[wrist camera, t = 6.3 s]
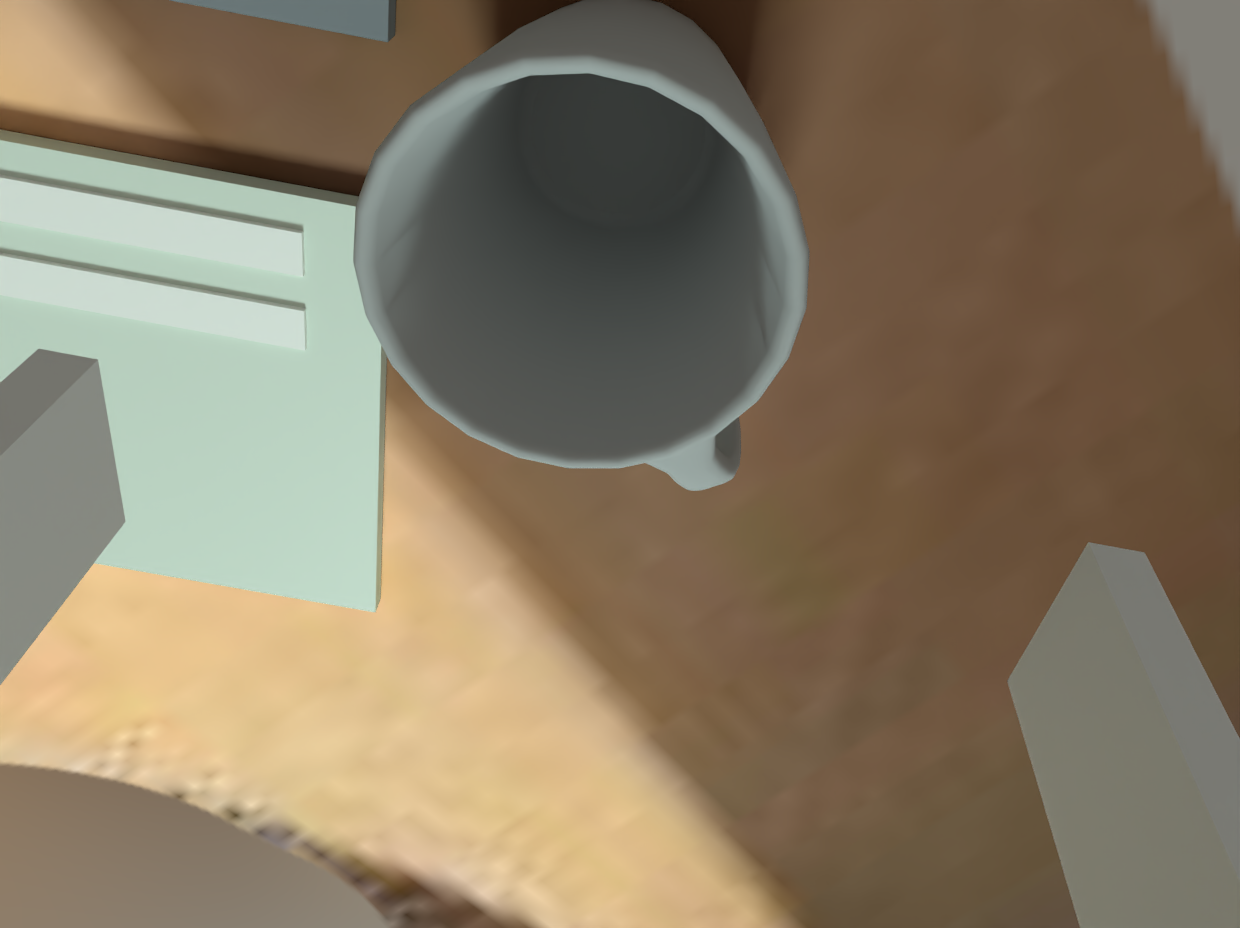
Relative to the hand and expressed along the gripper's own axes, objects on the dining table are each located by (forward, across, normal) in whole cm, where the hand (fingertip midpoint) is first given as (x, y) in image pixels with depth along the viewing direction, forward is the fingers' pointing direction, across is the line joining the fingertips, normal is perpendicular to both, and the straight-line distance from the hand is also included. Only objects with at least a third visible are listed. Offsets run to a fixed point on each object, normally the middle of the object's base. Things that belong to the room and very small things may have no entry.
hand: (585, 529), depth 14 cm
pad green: (+13, -13, -9) cm, 21 cm away
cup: (+13, 0, 0) cm, 13 cm away
